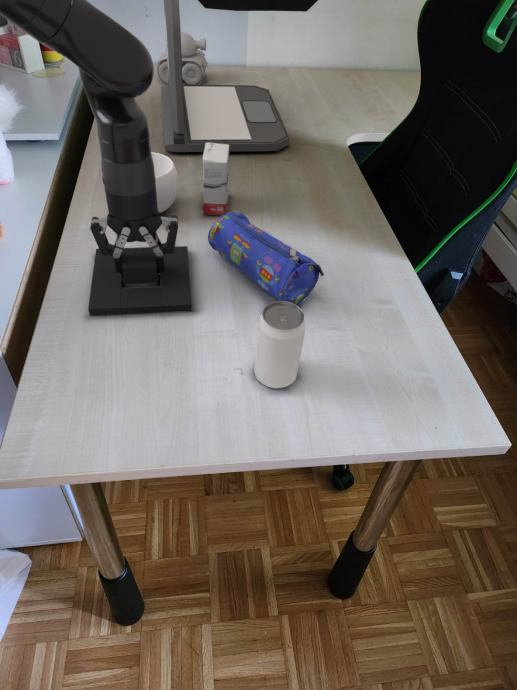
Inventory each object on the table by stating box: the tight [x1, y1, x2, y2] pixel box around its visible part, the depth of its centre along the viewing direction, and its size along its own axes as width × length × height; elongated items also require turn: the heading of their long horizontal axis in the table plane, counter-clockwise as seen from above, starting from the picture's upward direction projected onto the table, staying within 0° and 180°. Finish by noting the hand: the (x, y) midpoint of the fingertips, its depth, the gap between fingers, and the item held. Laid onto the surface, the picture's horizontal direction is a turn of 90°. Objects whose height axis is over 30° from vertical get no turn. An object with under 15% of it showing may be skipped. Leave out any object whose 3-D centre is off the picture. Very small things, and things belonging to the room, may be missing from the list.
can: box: [253, 300, 307, 389], centre depth 73 cm, size 6×6×12 cm
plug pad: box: [122, 247, 159, 286], centre depth 88 cm, size 6×6×4 cm
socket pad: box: [87, 245, 193, 317], centre depth 90 cm, size 16×16×2 cm
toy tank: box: [156, 31, 209, 85], centre depth 154 cm, size 15×11×13 cm
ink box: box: [202, 143, 230, 216], centre depth 105 cm, size 9×5×12 cm, turn 179°
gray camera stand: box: [160, 0, 290, 153], centre depth 128 cm, size 38×31×32 cm
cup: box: [151, 151, 178, 214], centre depth 104 cm, size 12×12×10 cm
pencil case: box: [207, 211, 325, 307], centre depth 90 cm, size 22×9×10 cm, turn 41°
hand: (140, 271), depth 89 cm, fingers closed on plug pad, 5 cm apart
